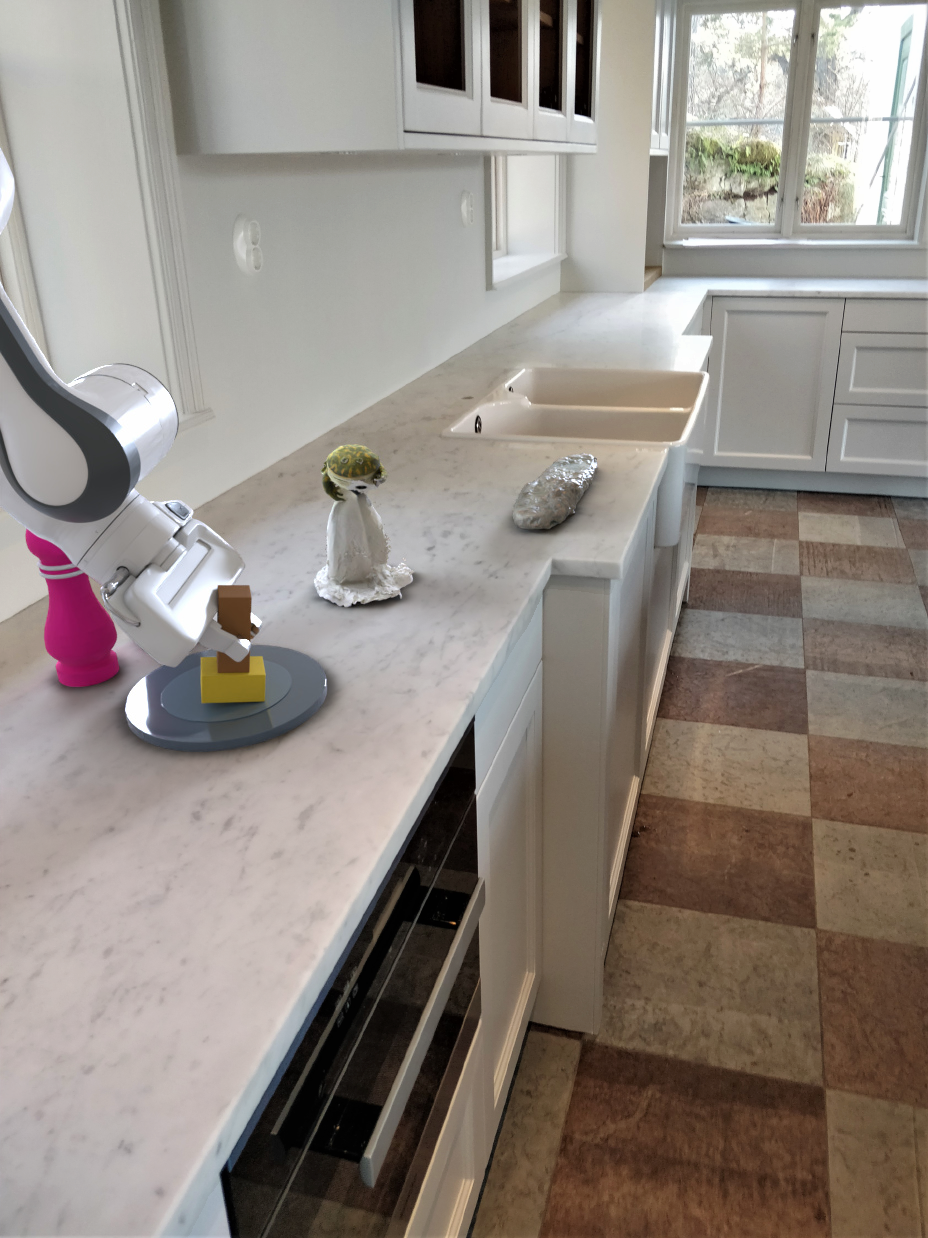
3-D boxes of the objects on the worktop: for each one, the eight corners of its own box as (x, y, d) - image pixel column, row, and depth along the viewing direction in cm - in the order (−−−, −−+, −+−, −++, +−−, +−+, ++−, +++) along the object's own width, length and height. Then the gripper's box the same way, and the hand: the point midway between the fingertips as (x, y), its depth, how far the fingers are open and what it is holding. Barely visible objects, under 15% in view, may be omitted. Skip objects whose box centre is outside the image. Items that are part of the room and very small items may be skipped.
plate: (155, 777, 85) (153, 765, 85) (107, 686, 101) (104, 675, 101) (359, 712, 94) (358, 701, 94) (285, 638, 110) (284, 628, 110)
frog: (300, 605, 118) (282, 460, 110) (334, 565, 130) (320, 432, 122) (393, 610, 116) (382, 462, 108) (419, 569, 127) (411, 433, 119)
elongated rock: (610, 476, 166) (554, 476, 169) (610, 446, 164) (553, 446, 168) (567, 534, 136) (499, 533, 139) (565, 498, 134) (497, 497, 137)
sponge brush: (201, 703, 93) (202, 599, 88) (200, 683, 96) (201, 582, 92) (264, 701, 94) (268, 599, 90) (261, 682, 98) (264, 582, 93)
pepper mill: (94, 653, 108) (55, 482, 100) (138, 667, 105) (102, 491, 96) (39, 681, 103) (-7, 502, 94) (84, 696, 99) (41, 512, 91)
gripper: (113, 570, 79) (246, 673, 83) (186, 494, 98) (292, 581, 101) (71, 620, 81) (203, 718, 85) (150, 536, 100) (255, 620, 103)
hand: (252, 643), depth 93 cm, fingers closed on sponge brush, 3 cm apart
